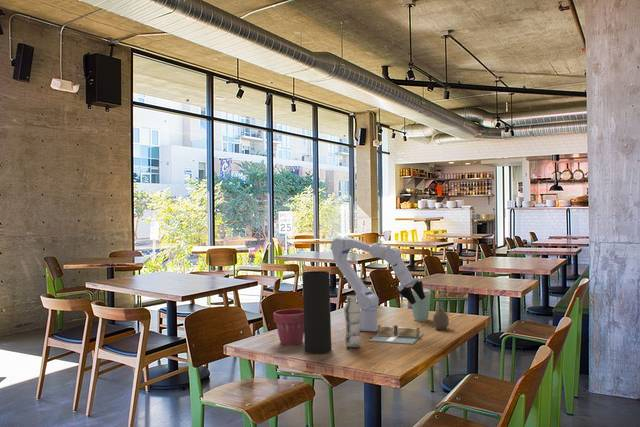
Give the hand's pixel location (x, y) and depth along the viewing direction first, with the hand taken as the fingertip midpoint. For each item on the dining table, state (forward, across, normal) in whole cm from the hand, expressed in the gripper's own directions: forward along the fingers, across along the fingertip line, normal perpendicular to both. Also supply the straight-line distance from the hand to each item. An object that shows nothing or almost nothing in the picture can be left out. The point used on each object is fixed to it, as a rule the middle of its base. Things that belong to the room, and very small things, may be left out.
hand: (418, 301), depth 229 cm
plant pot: (-10, -44, +35) cm, 57 cm away
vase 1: (-1, -47, +19) cm, 51 cm away
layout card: (+9, -13, +10) cm, 18 cm away
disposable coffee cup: (+7, +24, +22) cm, 34 cm away
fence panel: (+10, -9, +6) cm, 15 cm away
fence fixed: (+6, -12, +14) cm, 20 cm away
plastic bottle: (+4, -35, +13) cm, 38 cm away
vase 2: (+15, +12, +6) cm, 20 cm away
